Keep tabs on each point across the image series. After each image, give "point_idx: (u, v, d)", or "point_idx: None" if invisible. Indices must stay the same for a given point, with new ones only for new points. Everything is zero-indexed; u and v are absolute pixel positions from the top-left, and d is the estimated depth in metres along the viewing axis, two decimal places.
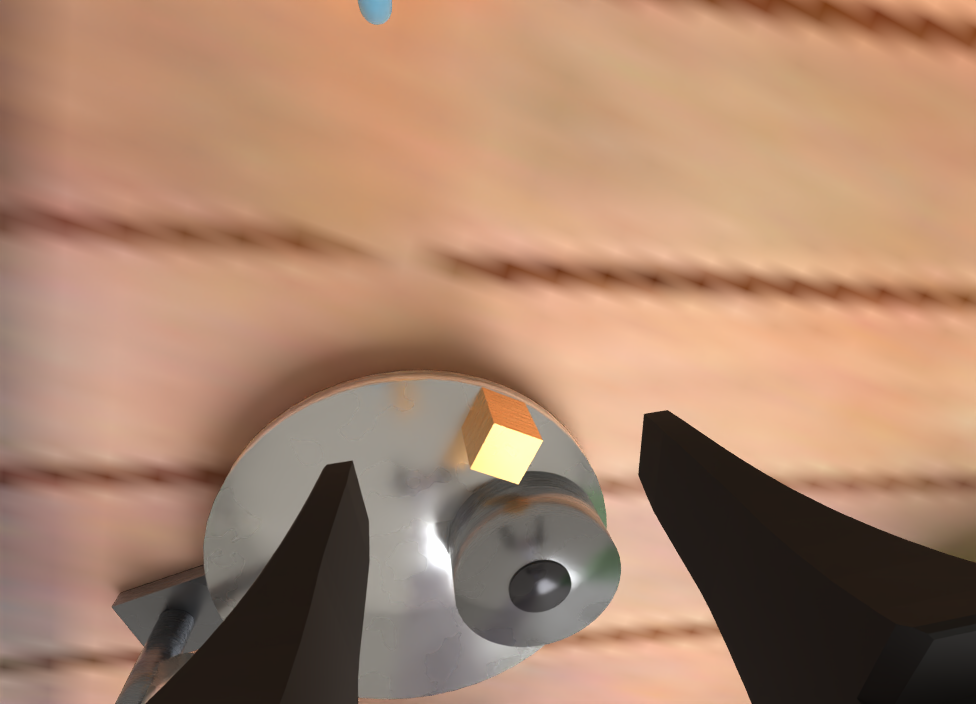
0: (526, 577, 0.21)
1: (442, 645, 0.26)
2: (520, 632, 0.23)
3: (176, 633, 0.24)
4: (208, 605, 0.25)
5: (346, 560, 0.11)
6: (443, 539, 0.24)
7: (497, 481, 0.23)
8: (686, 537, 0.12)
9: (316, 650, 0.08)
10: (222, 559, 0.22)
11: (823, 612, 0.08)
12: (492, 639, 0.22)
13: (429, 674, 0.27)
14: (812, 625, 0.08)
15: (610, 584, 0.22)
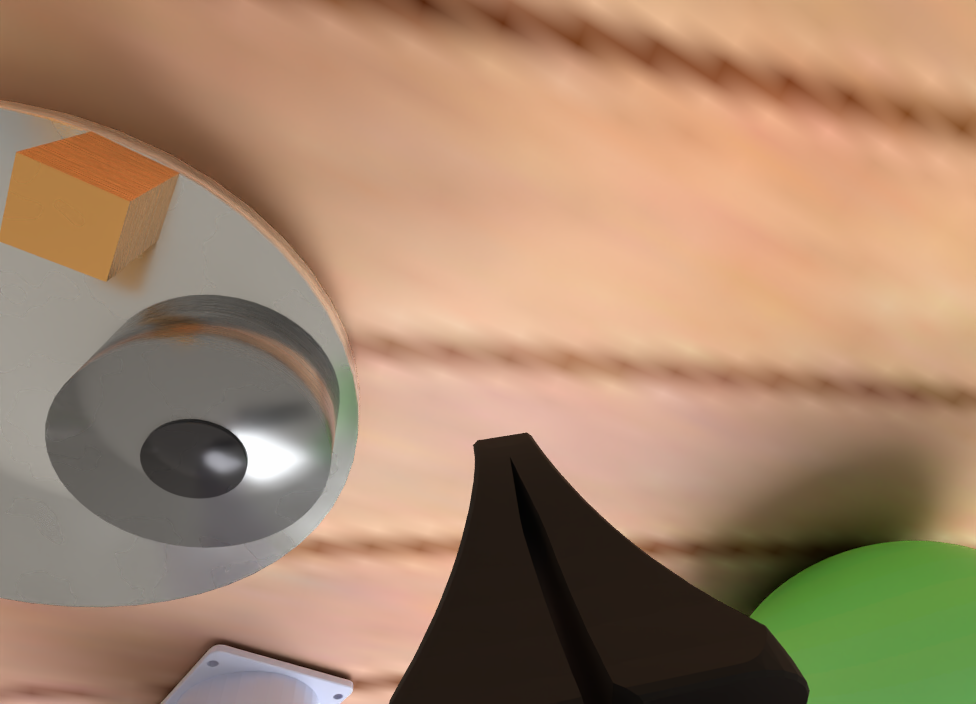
0: (164, 443, 0.14)
1: (136, 542, 0.19)
2: (185, 526, 0.15)
3: None
4: None
5: None
6: None
7: (158, 304, 0.15)
8: None
9: None
10: None
11: (586, 660, 0.07)
12: (141, 533, 0.15)
13: (127, 578, 0.20)
14: (584, 672, 0.08)
15: (317, 466, 0.15)
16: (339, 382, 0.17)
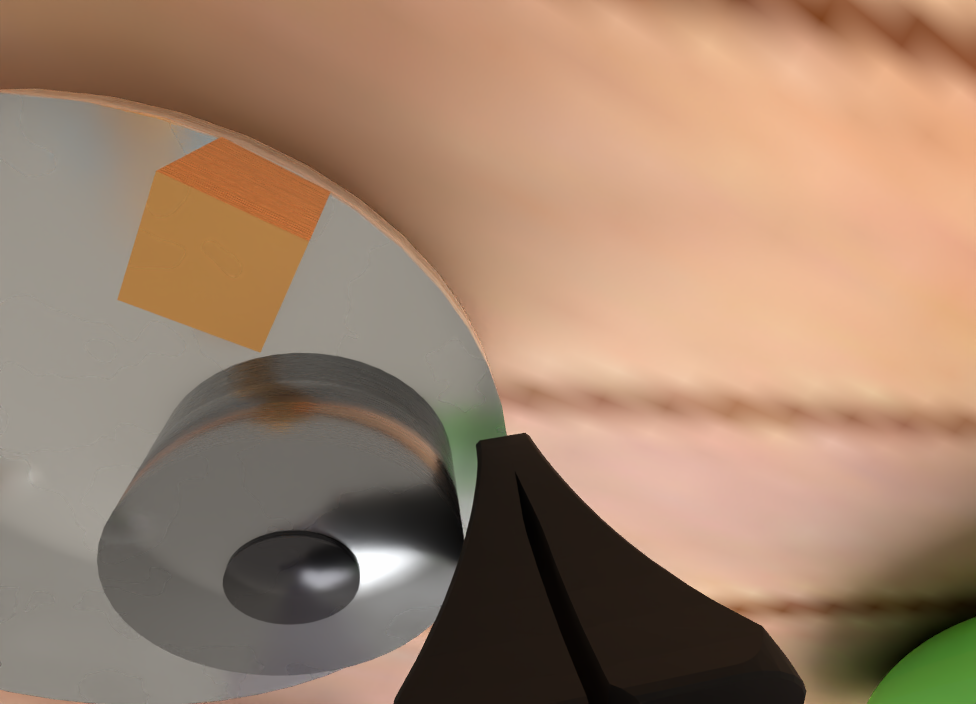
0: (256, 563, 0.10)
1: None
2: (270, 653, 0.12)
3: None
4: None
5: None
6: None
7: (238, 367, 0.11)
8: None
9: None
10: None
11: (584, 660, 0.07)
12: (213, 664, 0.12)
13: (210, 673, 0.17)
14: (581, 672, 0.08)
15: (445, 578, 0.12)
16: None
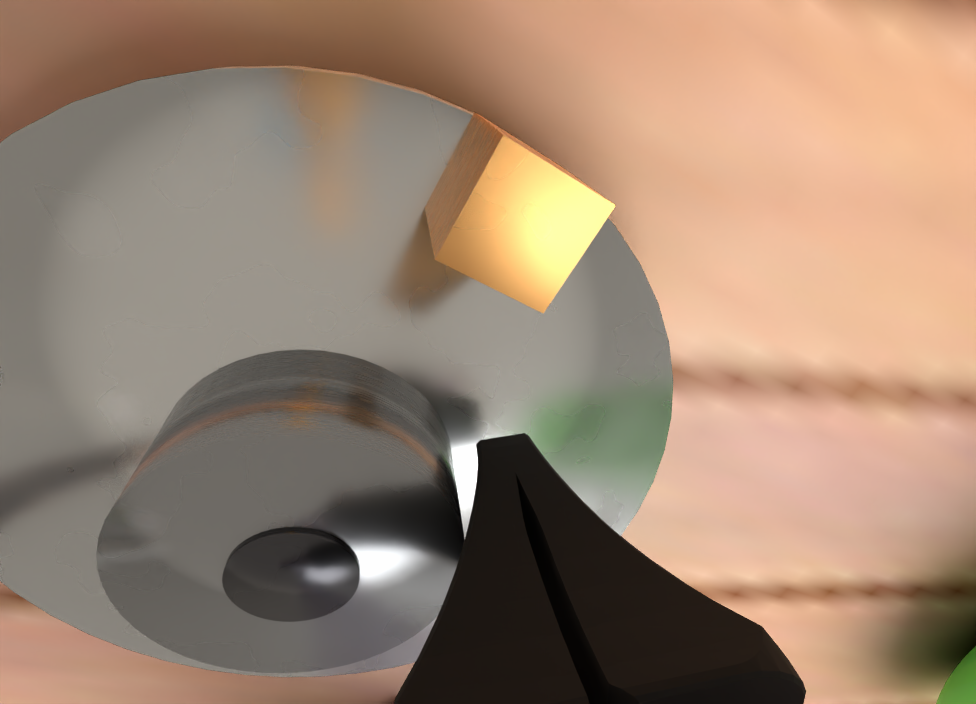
0: (256, 559, 0.10)
1: None
2: (266, 650, 0.12)
3: None
4: None
5: None
6: None
7: (242, 363, 0.11)
8: None
9: None
10: None
11: (583, 660, 0.07)
12: (210, 660, 0.12)
13: None
14: (581, 672, 0.08)
15: (445, 578, 0.12)
16: (654, 422, 0.14)
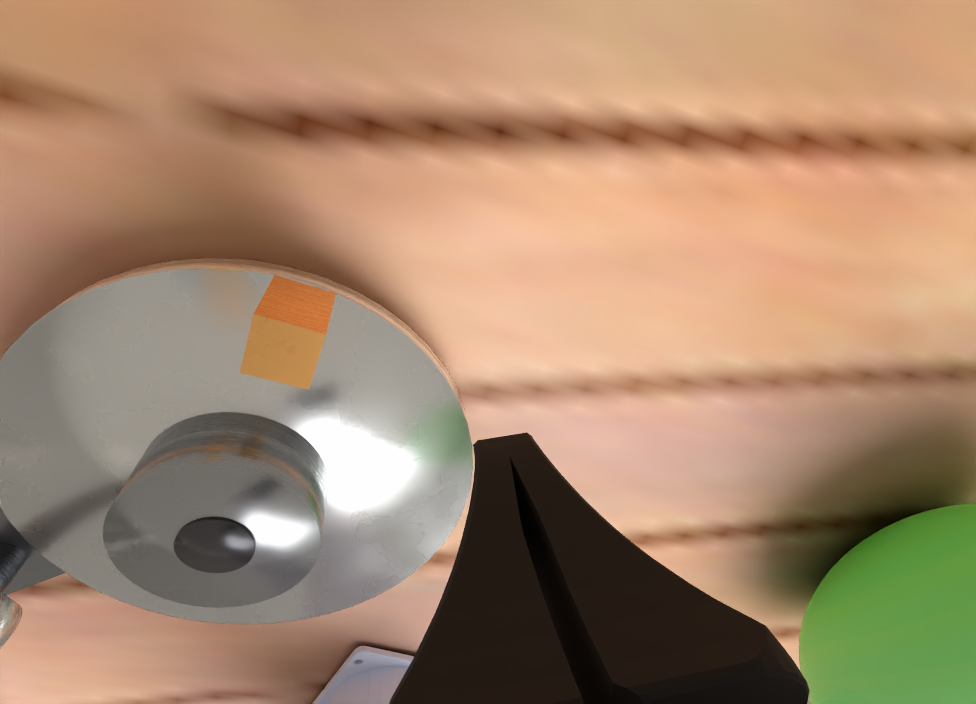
0: (190, 536, 0.18)
1: None
2: (214, 593, 0.20)
3: None
4: None
5: None
6: None
7: (176, 425, 0.19)
8: None
9: None
10: (13, 489, 0.20)
11: (587, 660, 0.07)
12: (182, 601, 0.20)
13: (298, 598, 0.25)
14: (584, 672, 0.08)
15: (310, 540, 0.19)
16: (457, 429, 0.21)
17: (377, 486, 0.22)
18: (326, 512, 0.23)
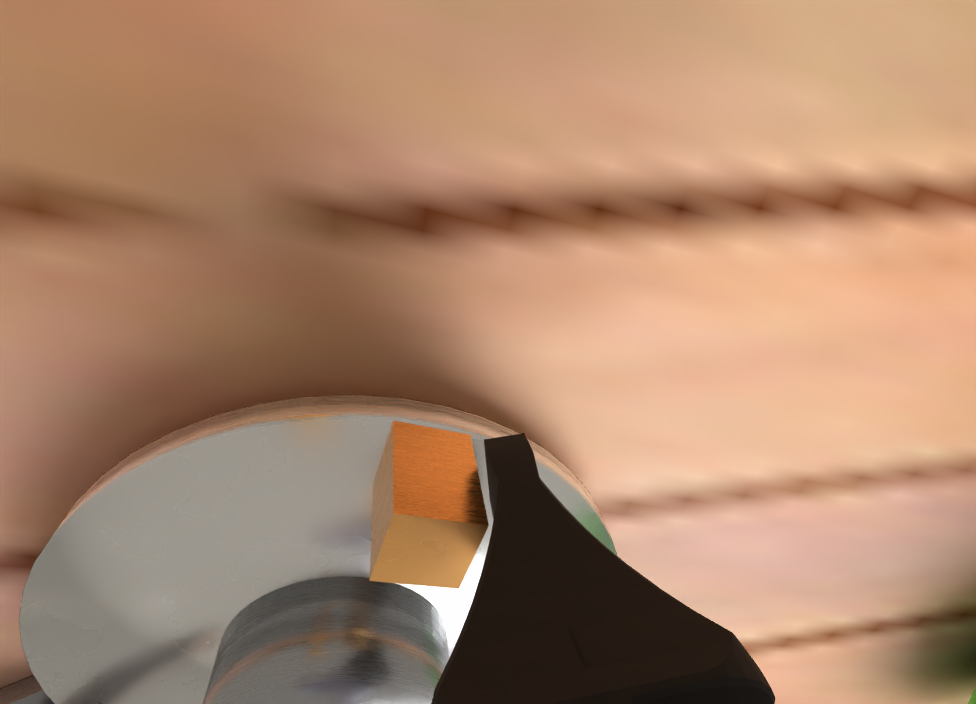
0: None
1: None
2: None
3: None
4: None
5: None
6: None
7: (265, 599, 0.15)
8: None
9: None
10: (67, 681, 0.16)
11: None
12: None
13: None
14: None
15: None
16: None
17: None
18: None
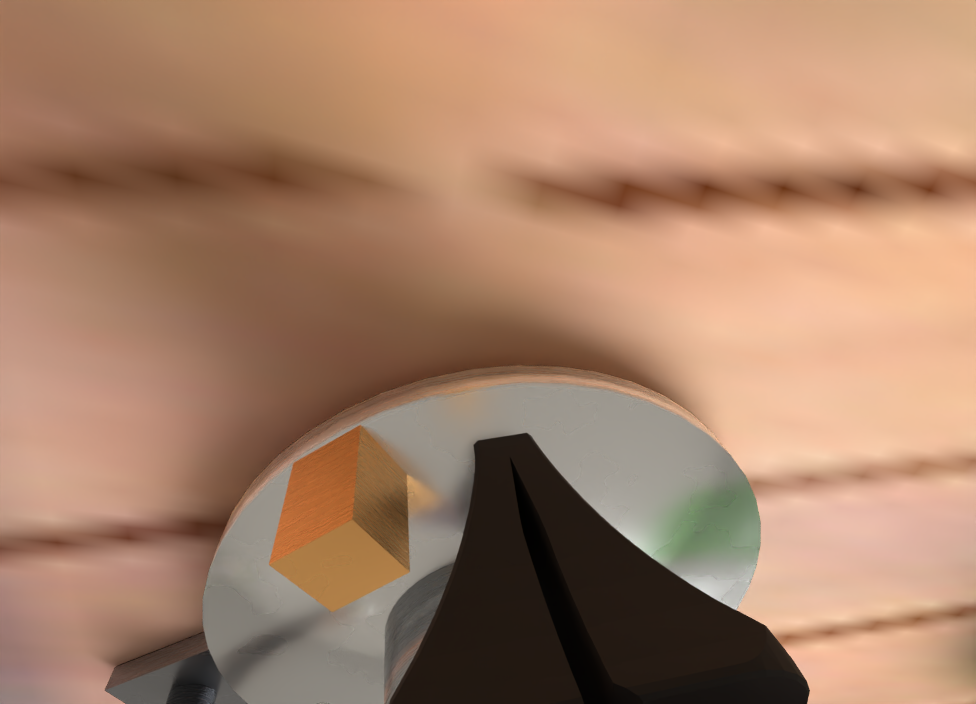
0: None
1: None
2: None
3: None
4: None
5: None
6: None
7: (386, 628, 0.17)
8: None
9: None
10: None
11: (587, 660, 0.07)
12: None
13: None
14: (584, 672, 0.08)
15: None
16: (644, 419, 0.14)
17: (623, 532, 0.16)
18: None
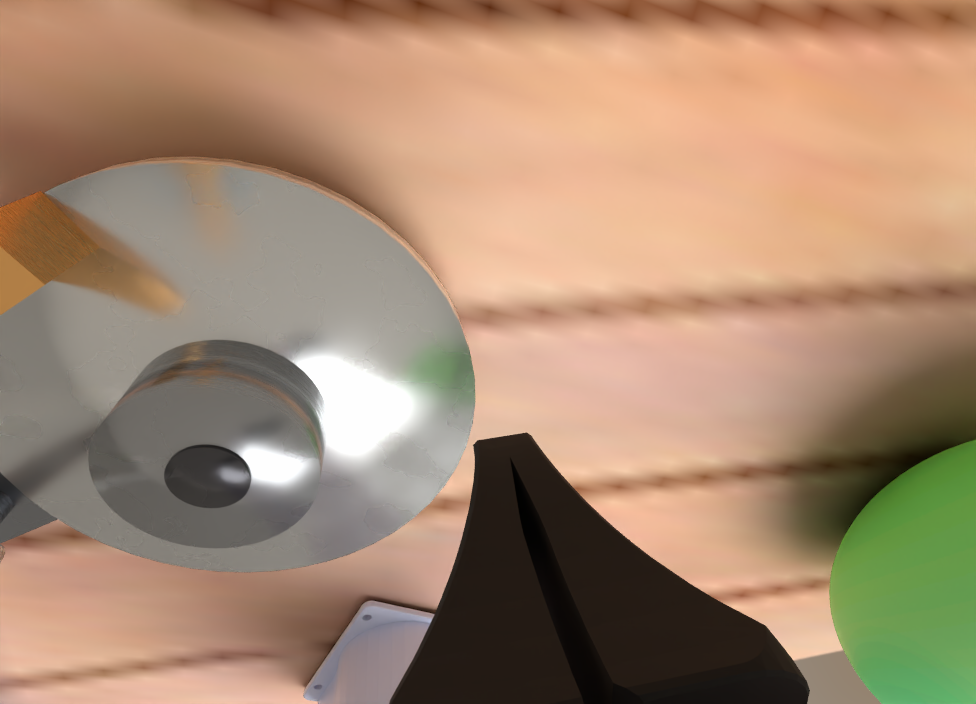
0: (179, 484, 0.17)
1: (382, 446, 0.22)
2: (273, 514, 0.19)
3: None
4: None
5: None
6: None
7: None
8: None
9: None
10: (131, 540, 0.22)
11: (587, 660, 0.07)
12: (264, 537, 0.19)
13: (413, 474, 0.23)
14: (584, 671, 0.08)
15: (265, 414, 0.17)
16: (306, 203, 0.17)
17: (328, 326, 0.19)
18: (325, 386, 0.20)
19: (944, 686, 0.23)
